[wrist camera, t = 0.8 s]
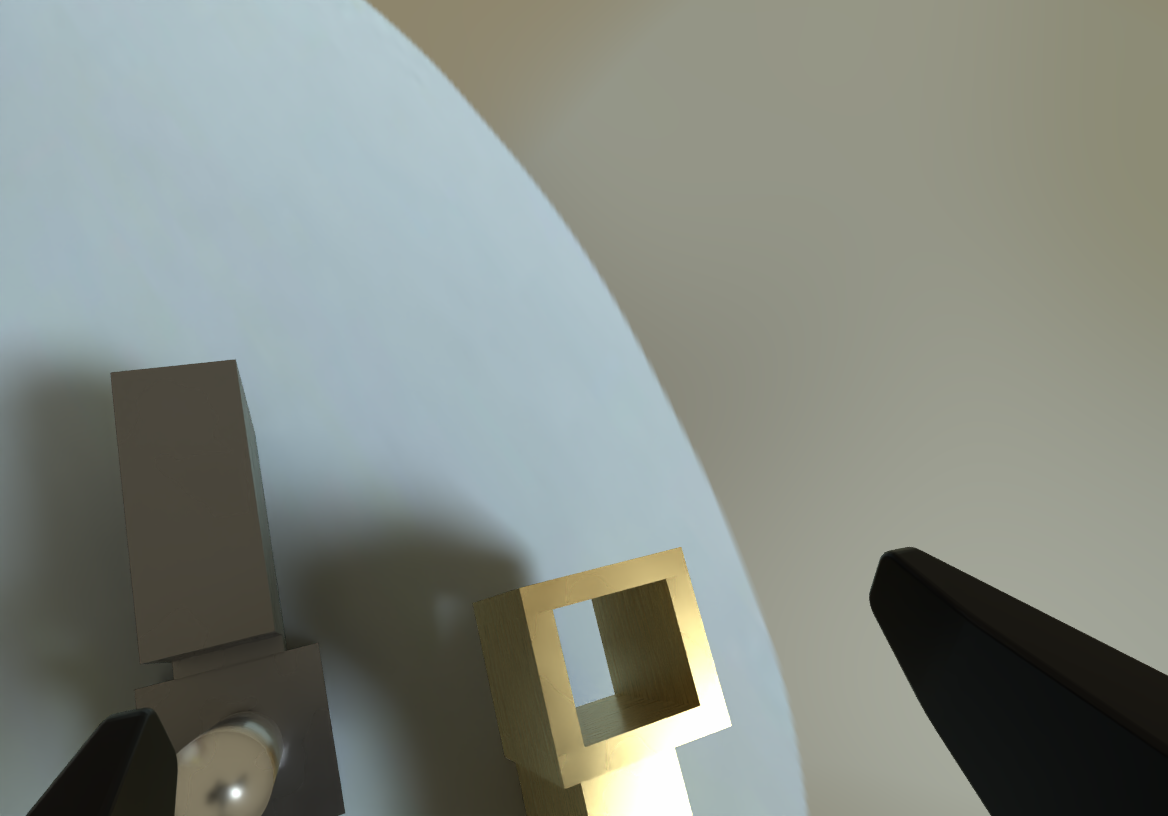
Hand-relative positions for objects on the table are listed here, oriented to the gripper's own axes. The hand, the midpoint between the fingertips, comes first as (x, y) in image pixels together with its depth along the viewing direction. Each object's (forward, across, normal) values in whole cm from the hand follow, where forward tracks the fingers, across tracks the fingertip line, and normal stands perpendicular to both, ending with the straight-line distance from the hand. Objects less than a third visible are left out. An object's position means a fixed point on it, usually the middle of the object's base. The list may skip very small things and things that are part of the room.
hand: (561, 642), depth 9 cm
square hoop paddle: (+7, -1, +13) cm, 15 cm away
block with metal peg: (+10, +7, +8) cm, 15 cm away
